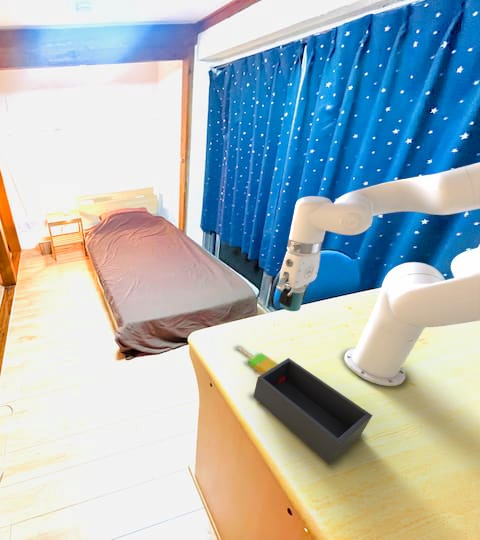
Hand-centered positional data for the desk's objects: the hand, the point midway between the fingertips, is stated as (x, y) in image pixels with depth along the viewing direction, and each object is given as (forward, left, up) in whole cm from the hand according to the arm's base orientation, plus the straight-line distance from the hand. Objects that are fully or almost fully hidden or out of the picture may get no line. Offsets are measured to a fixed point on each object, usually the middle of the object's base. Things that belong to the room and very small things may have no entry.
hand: (291, 300), depth 82 cm
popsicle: (+14, +3, -15) cm, 21 cm away
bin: (+19, +19, -15) cm, 31 cm away
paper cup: (0, 0, -2) cm, 2 cm away
